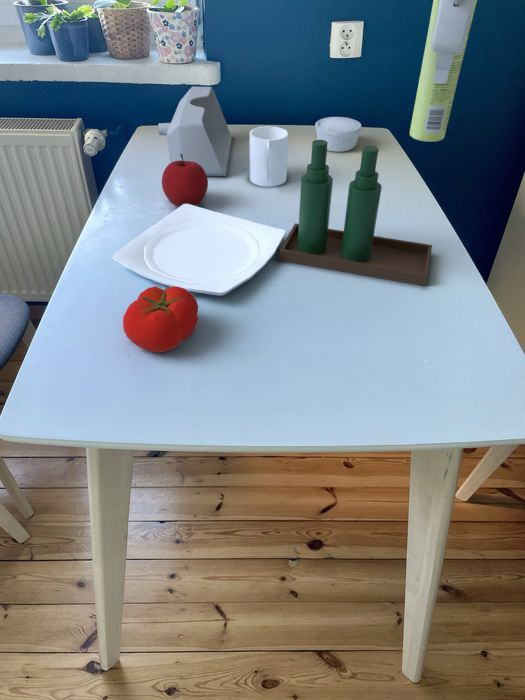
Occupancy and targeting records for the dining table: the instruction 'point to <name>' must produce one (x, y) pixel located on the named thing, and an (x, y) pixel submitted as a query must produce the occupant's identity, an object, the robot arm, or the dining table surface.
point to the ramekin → (338, 132)
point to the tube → (435, 90)
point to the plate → (201, 250)
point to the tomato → (161, 318)
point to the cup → (268, 156)
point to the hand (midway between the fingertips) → (441, 75)
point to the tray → (384, 262)
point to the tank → (199, 132)
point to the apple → (184, 183)
